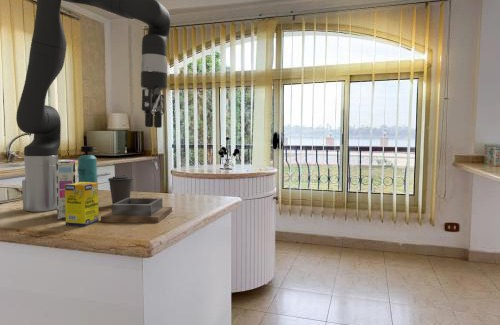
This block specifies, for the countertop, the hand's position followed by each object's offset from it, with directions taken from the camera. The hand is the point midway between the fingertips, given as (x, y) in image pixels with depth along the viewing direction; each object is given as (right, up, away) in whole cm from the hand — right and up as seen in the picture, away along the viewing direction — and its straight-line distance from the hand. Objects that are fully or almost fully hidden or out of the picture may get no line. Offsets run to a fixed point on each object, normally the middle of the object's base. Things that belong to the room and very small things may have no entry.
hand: (153, 127), depth 103 cm
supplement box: (-16, -27, -10) cm, 33 cm away
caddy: (-4, -26, -1) cm, 27 cm away
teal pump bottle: (-30, -25, +23) cm, 45 cm away
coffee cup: (-15, -25, +15) cm, 33 cm away
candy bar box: (-25, -26, -1) cm, 36 cm away
